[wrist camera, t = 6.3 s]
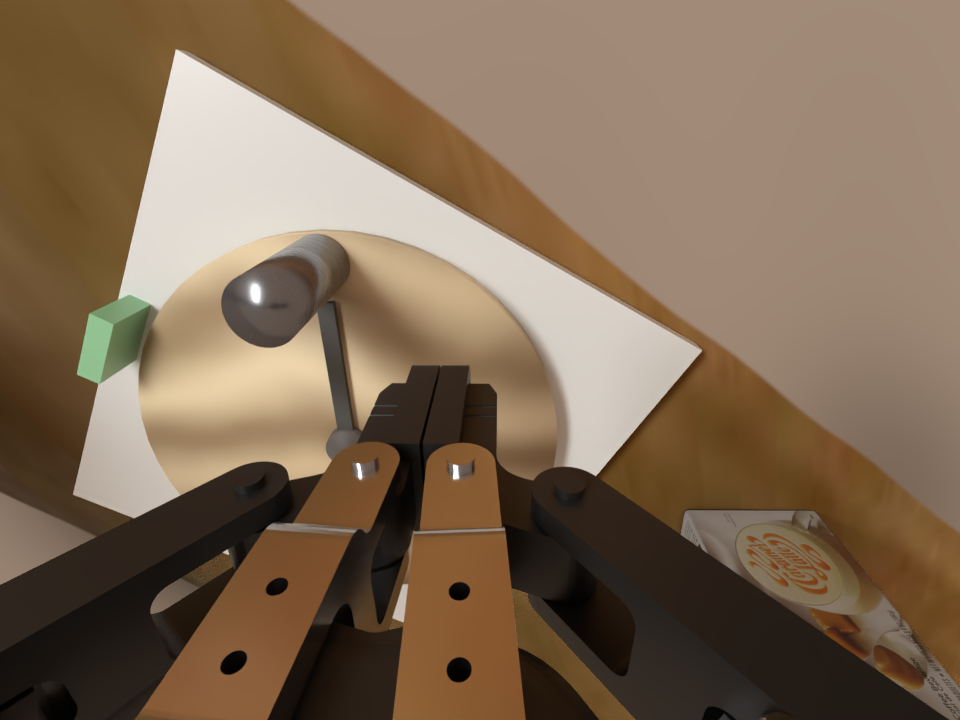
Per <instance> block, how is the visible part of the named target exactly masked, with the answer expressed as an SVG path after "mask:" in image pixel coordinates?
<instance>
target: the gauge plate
mask: <svg viewBox="0 0 960 720" xmlns="http://www.w3.org/2000/svg"><path fill="white" fill-rule="evenodd" d="M320 229H325V230H343V231H356V232H361V233H367V234H372V235H377V236H383V237H387V238H390V239H393V240H396V241H399V242H403V243H406V244H409V245H412V246H415V247H418V248H420V249H422V250H424V251H426V252H428V253H430V254H432V255H435V256H437V257H439V258H441V259H443V260H445V261H447V262H448V263H450V264H452V265H453V266H455V267H456V268H458V269H460V270H461V271H463V272H464V273H466V274H467V275H469V276H471V277H472V278H473V279H475V280H476V281H477V282H478V283H479V284H481V285H482V286H483V287H484V288H485V289H487V290H488V291H489V292H490V293H491V294H493V295H494V296H495V297H496V298H497V299H498V300H499V301H500V302H501V303H502V304H503V306H504V307H505V308H506V309H507V310H508V311H509V312H510V313H511V314H512V315H513V316H514V317H515V319H516V320H517V321H518V323H519V324H520V326H521V327H522V329H523V330H524V331H525V333H526V334H527V336H528V337H529V339H530V340H531V342H532V344H533V346H534V348H535V350H536V351H537V353H538V355H539V357H540V359H541V361H542V363H543V366H544V369H545V372H546V375H547V378H548V381H549V384H550V387H551V391H552V396H553V402H554V407H555V413H556V419H557V448H556V455H555V462H554V467H574V468H579V469H582V470H585V471H587V472H590V473H591V474H593V475H595V476H596V475H597V474H598V473H599V472H600V471H601V470H602V468H603V467H604V466H605V465H606V464H607V462H608V461H609V460H610V459H611V458H612V457H613V455H614V454H615V453H616V452H617V451H618V449H619V448H620V447H621V446H622V445H623V444H624V442H625V441H626V440H627V439H628V438H629V436H630V435H631V434H632V433H633V432H634V431H635V429H636V428H637V427H638V426H639V425H640V423H641V422H642V421H643V420H644V419H645V418H646V416H647V415H648V414H649V413H650V412H651V410H652V409H653V408H654V407H655V406H656V405H657V403H658V402H659V401H660V400H661V399H662V397H663V396H664V395H665V394H666V393H667V392H668V390H669V389H670V388H671V387H672V386H673V384H674V383H675V382H676V381H677V380H678V379H679V377H680V376H681V375H682V374H683V373H684V372H685V370H686V369H687V368H688V367H689V366H690V364H691V363H692V362H693V361H694V360H695V359H696V357H697V356H698V355H699V354H700V353H701V351H702V350H701V349H700V348H699V346H698V345H697V344H696V343H694V342H693V341H691V340H689V339H687V338H686V337H684V336H682V335H680V334H679V333H677V332H675V331H674V330H672V329H670V328H668V327H667V326H665V325H663V324H661V323H660V322H658V321H656V320H654V319H653V318H651V317H649V316H647V315H646V314H644V313H642V312H640V311H639V310H637V309H635V308H633V307H632V306H630V305H628V304H627V303H625V302H623V301H621V300H620V299H618V298H616V297H614V296H613V295H611V294H609V293H607V292H606V291H604V290H602V289H600V288H599V287H597V286H595V285H593V284H592V283H590V282H588V281H586V280H585V279H583V278H581V277H580V276H578V275H576V274H574V273H573V272H571V271H569V270H567V269H566V268H564V267H562V266H560V265H559V264H557V263H555V262H553V261H552V260H550V259H548V258H546V257H545V256H543V255H541V254H540V253H538V252H536V251H534V250H533V249H531V248H529V247H527V246H526V245H524V244H522V243H520V242H519V241H517V240H515V239H513V238H512V237H510V236H508V235H506V234H505V233H503V232H501V231H499V230H498V229H496V228H494V227H493V226H491V225H489V224H487V223H486V222H484V221H482V220H480V219H479V218H477V217H475V216H473V215H472V214H470V213H468V212H466V211H465V210H463V209H461V208H459V207H458V206H456V205H454V204H452V203H451V202H449V201H447V200H446V199H444V198H442V197H440V196H439V195H437V194H435V193H433V192H432V191H430V190H428V189H426V188H425V187H423V186H421V185H419V184H418V183H416V182H414V181H412V180H411V179H409V178H407V177H405V176H404V175H402V174H400V173H399V172H397V171H395V170H393V169H392V168H390V167H388V166H386V165H385V164H383V163H381V162H379V161H378V160H376V159H374V158H372V157H371V156H369V155H367V154H365V153H364V152H362V151H360V150H359V149H357V148H355V147H353V146H352V145H350V144H348V143H346V142H345V141H343V140H341V139H339V138H338V137H336V136H334V135H332V134H331V133H329V132H327V131H325V130H324V129H322V128H320V127H318V126H317V125H315V124H313V123H312V122H310V121H308V120H306V119H305V118H303V117H301V116H299V115H298V114H296V113H294V112H292V111H291V110H289V109H287V108H285V107H284V106H282V105H280V104H278V103H277V102H275V101H273V100H271V99H270V98H268V97H266V96H265V95H263V94H261V93H259V92H258V91H256V90H254V89H252V88H251V87H249V86H247V85H245V84H244V83H242V82H240V81H238V80H237V79H235V78H233V77H231V76H230V75H228V74H226V73H224V72H223V71H221V70H219V69H218V68H216V67H214V66H212V65H211V64H209V63H207V62H205V61H204V60H202V59H200V58H198V57H197V56H195V55H193V54H191V53H190V52H187V51H182V50H177V49H176V52H175V57H174V61H173V65H172V70H171V74H170V78H169V83H168V87H167V91H166V96H165V100H164V104H163V109H162V113H161V117H160V121H159V126H158V130H157V134H156V139H155V143H154V147H153V152H152V156H151V160H150V165H149V169H148V173H147V178H146V182H145V186H144V191H143V195H142V199H141V203H140V208H139V212H138V216H137V221H136V225H135V229H134V234H133V238H132V242H131V247H130V251H129V255H128V260H127V264H126V268H125V273H124V277H123V281H122V285H121V290H120V294H119V298H118V300H117V301H115V302H112V303H110V304H108V305H106V306H104V307H102V308H100V309H98V310H96V311H94V312H92V313H89V318H88V323H87V328H86V332H85V337H84V342H83V347H82V352H81V357H80V362H79V366H78V371H77V375H79V376H82V377H84V378H86V379H89V380H91V381H93V382H96V383H98V384H99V385H98V389H97V393H96V398H95V402H94V406H93V411H92V415H91V419H90V424H89V428H88V432H87V436H86V441H85V445H84V449H83V454H82V458H81V462H80V467H79V471H78V475H77V480H76V484H75V488H74V493H73V495H75V496H78V497H81V498H83V499H86V500H88V501H91V502H93V503H96V504H99V505H101V506H104V507H106V508H109V509H112V510H114V511H117V512H119V513H122V514H124V515H127V516H130V517H132V518H136V517H138V516H140V515H142V514H144V513H146V512H148V511H150V510H152V509H154V508H156V507H158V506H160V505H162V504H164V503H166V502H168V501H170V500H172V499H174V498H176V497H178V496H180V494H179V492H178V491H177V490H176V489H175V487H174V486H173V485H172V484H171V482H170V481H169V479H168V477H167V476H166V474H165V472H164V471H163V469H162V468H161V466H160V464H159V463H158V461H157V458H156V456H155V454H154V452H153V450H152V448H151V445H150V443H149V441H148V438H147V434H146V431H145V428H144V424H143V421H142V417H141V410H140V403H139V397H138V377H139V367H140V361H141V355H142V350H143V346H144V344H145V341H146V338H147V336H148V333H149V330H150V327H151V325H152V323H153V322H154V320H155V318H156V317H157V315H158V313H159V311H160V310H161V308H162V306H163V305H164V303H165V302H166V301H167V300H168V299H169V298H170V296H171V295H172V294H173V293H174V292H175V290H176V289H177V288H178V287H179V286H180V285H181V284H182V283H183V282H184V281H186V280H187V279H188V278H189V277H190V276H192V275H193V274H194V273H195V272H196V271H198V270H199V269H200V268H201V267H203V266H205V265H206V264H208V263H210V262H212V261H213V260H215V259H217V258H219V257H220V256H222V255H224V254H225V253H227V252H229V251H232V250H234V249H236V248H238V247H241V246H243V245H246V244H249V243H251V242H254V241H256V240H259V239H262V238H266V237H270V236H275V235H279V234H284V233H288V232H295V231H308V230H320ZM554 467H553V468H554ZM223 553H225V554H228V555H229V552H228V549H227V550H226V551H224V552H223ZM407 589H408V584H403V585H402V588H401V592H400V595H399V598H398V601H397V605H396V608H395V611H394V615H393V619H396V620H398V621H401V622H404V615H405V607H406V598H407Z"/></svg>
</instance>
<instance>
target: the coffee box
mask: <svg viewBox="0 0 960 720" xmlns="http://www.w3.org/2000/svg"><path fill="white" fill-rule="evenodd" d="M681 535H682V536H683V537H685V538H686V539H688V540H689V541H691V542H692V543H693V544H695V545H696V546H698V547H699V548H701V549H702V550H704V551H705V552H707V553H708V554H709V555H711V556H712V557H714V558H715V559H717V560H718V561H720V562H721V563H722V564H724V565H725V566H727V567H728V568H730V569H731V570H733V571H734V572H736V573H737V574H738V575H740V576H741V577H743V578H744V579H746V580H747V581H749V582H750V583H752V584H753V585H754V586H756V587H757V588H759V589H760V590H762V591H763V592H765V593H766V594H768V595H769V596H770V597H772V598H773V599H775V600H776V601H778V602H779V603H781V604H782V605H783V606H785V607H786V608H788V609H789V610H791V611H792V612H794V613H795V614H797V615H798V616H799V617H801V618H802V619H804V620H805V621H807V622H808V623H810V624H811V625H813V626H814V627H815V628H817V629H818V630H820V631H821V632H823V633H824V634H826V635H827V636H829V637H830V638H831V639H833V640H834V641H836V642H837V643H839V644H840V645H842V646H843V647H844V648H846V649H847V650H849V651H850V652H852V653H853V654H855V655H856V656H858V657H859V658H860V659H862V660H863V661H865V662H866V663H868V664H869V665H871V666H872V667H874V668H875V669H876V670H878V671H879V672H881V673H882V674H884V675H885V676H887V677H888V678H890V679H891V680H892V681H894V682H895V683H897V684H898V685H900V686H901V687H903V688H904V689H905V690H907V691H908V692H910V693H911V694H913V695H914V696H916V697H917V698H919V699H920V700H921V701H923V702H924V703H926V704H927V705H929V706H930V707H932V708H933V709H935V710H936V711H937V712H939V713H940V714H942V715H943V716H945V717H946V718H948V719H949V720H960V687H959V686H958V685H957V683H956V682H955V681H954V680H953V678H952V677H951V676H950V675H949V674H948V672H947V671H946V670H945V669H944V668H943V666H942V665H941V664H940V663H939V662H938V660H937V659H936V658H935V657H934V655H933V654H932V653H931V652H930V650H929V649H928V648H927V647H926V645H925V644H924V643H923V642H922V641H921V639H920V638H919V637H918V636H917V635H916V633H915V632H914V631H913V630H912V628H911V627H910V626H909V625H908V624H907V622H906V621H905V620H904V618H903V617H902V616H901V615H900V614H899V613H898V612H897V610H896V609H895V608H894V607H893V605H892V604H891V603H890V602H889V601H888V599H887V598H886V597H885V595H884V594H883V593H882V592H881V591H880V590H879V588H878V587H877V586H876V585H875V583H874V582H873V581H872V580H871V579H870V578H869V576H868V575H867V574H866V572H865V571H864V570H863V569H862V568H861V566H860V565H859V564H858V563H857V561H856V560H855V559H854V558H853V557H852V555H851V554H850V553H849V552H848V551H847V549H846V548H845V547H844V546H843V545H842V543H841V542H840V541H839V540H838V539H837V537H836V536H835V535H834V534H833V532H832V531H831V530H830V529H829V527H828V526H827V525H826V524H825V523H824V521H823V520H822V519H821V518H820V517H819V515H818V514H817V513H816V512H815V511H765V510H761V511H753V510H688V511H686V512H685V514H684V519H683V524H682V530H681Z"/></svg>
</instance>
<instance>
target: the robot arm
mask: <svg viewBox="0 0 960 720" xmlns="http://www.w3.org/2000/svg"><path fill="white" fill-rule="evenodd" d="M374 405H375V406H374V407H373V409H372V411H371V413H370V416H369V418H368V420H367V422H366V424H365V427H364V429H363V431H362V433H361V435H360V438H359V440H358V442H357V444H355V445H352V446H350V447H347V448H345V449H344V450H342V451H341V452H339V453H338V454H337V455H336V456H335V457H334V458H333V460H332V461H331V463H330V464H329V466H328V468H327V469H326V471H325V472H324V473H322V474H318V475H313V476H308V477H303V478H298V479H293V480H289V475H288V472H287V470H286V468H285V467H284V466H282V465H281V464H278V463H275V462H269V461H261V462H253V463H249V464H245V465H242V466H239V467H237V468H235V469H232V470H230V471H228V472H226V473H224V474H222V475H220V476H218V477H216V478H214V479H212V480H210V481H208V482H206V483H204V484H202V485H200V486H198V487H196V488H194V489H192V490H190V491H188V492H186V493H184V494H182V495H180V496H178V497H176V498H174V499H172V500H170V501H168V502H166V503H164V504H162V505H160V506H158V507H156V508H154V509H152V510H150V511H148V512H146V513H144V514H142V515H140V516H138V517H136V518H134V519H132V520H130V521H128V522H126V523H124V524H122V525H120V526H118V527H116V528H114V529H112V530H110V531H108V532H106V533H104V534H102V535H100V536H98V537H96V538H94V539H92V540H90V541H88V542H86V543H84V544H82V545H80V546H78V547H76V548H74V549H72V550H70V551H68V552H66V553H64V554H62V555H60V556H58V557H56V558H54V559H52V560H50V561H48V562H46V563H44V564H42V565H40V566H38V567H36V568H34V569H32V570H29V571H27V572H26V573H23V574H21V575H20V576H17V577H15V578H13V579H11V580H10V581H7V582H6V583H3V584H1V585H0V720H599V719H598V718H597V717H596V715H595V714H594V713H593V712H592V710H591V709H590V708H589V707H588V705H587V704H586V703H585V702H584V701H583V699H582V698H581V697H580V696H579V694H578V693H577V692H576V691H575V690H574V688H573V687H572V686H571V685H570V684H569V683H568V682H567V681H566V680H565V679H564V678H563V677H562V676H561V675H560V674H559V673H558V672H557V671H556V670H554V669H553V668H552V667H550V666H549V665H548V664H546V663H545V662H544V661H542V660H541V659H539V658H537V657H536V656H534V655H532V654H531V653H529V652H527V651H525V650H523V649H520V648H518V644H517V635H516V626H515V616H514V607H513V598H512V588H514V589H517V590H520V591H523V592H526V593H528V599H529V602H530V604H531V605H532V607H533V608H534V610H535V611H536V612H537V613H538V614H539V615H540V616H541V617H542V619H543V620H544V621H545V622H546V623H547V624H548V625H549V626H550V627H551V628H552V629H553V630H554V631H555V633H556V634H557V635H558V636H559V637H560V638H561V639H562V640H563V641H564V642H565V643H566V644H567V646H568V647H569V648H570V649H571V650H572V651H573V652H574V653H575V654H576V655H577V656H578V657H579V659H580V660H581V661H582V662H583V663H584V664H585V665H586V666H587V667H588V668H589V669H590V670H591V672H592V673H593V674H594V675H595V676H596V677H597V678H598V679H599V680H600V681H601V682H602V683H603V685H604V686H605V687H606V688H607V689H608V690H609V691H610V692H611V693H612V694H613V695H614V696H615V697H616V699H617V700H618V701H619V702H620V703H621V704H622V705H623V706H624V707H625V708H626V709H627V710H628V712H629V713H630V714H631V715H632V716H633V717H634V718H635V719H636V720H949V719H948V718H946V717H945V716H943V715H942V714H940V713H939V712H937V711H936V710H935V709H933V708H932V707H930V706H929V705H927V704H926V703H924V702H923V701H921V700H920V699H919V698H917V697H916V696H914V695H913V694H911V693H910V692H908V691H907V690H905V689H904V688H903V687H901V686H900V685H898V684H897V683H895V682H894V681H892V680H891V679H890V678H888V677H887V676H885V675H884V674H882V673H881V672H879V671H878V670H876V669H875V668H874V667H872V666H871V665H869V664H868V663H866V662H865V661H863V660H862V659H860V658H859V657H858V656H856V655H855V654H853V653H852V652H850V651H849V650H847V649H846V648H844V647H843V646H842V645H840V644H839V643H837V642H836V641H834V640H833V639H831V638H830V637H829V636H827V635H826V634H824V633H823V632H821V631H820V630H818V629H817V628H815V627H814V626H813V625H811V624H810V623H808V622H807V621H805V620H804V619H802V618H801V617H799V616H798V615H797V614H795V613H794V612H792V611H791V610H789V609H788V608H786V607H785V606H783V605H782V604H781V603H779V602H778V601H776V600H775V599H773V598H772V597H770V596H769V595H768V594H766V593H765V592H763V591H762V590H760V589H759V588H757V587H756V586H754V585H753V584H752V583H750V582H749V581H747V580H746V579H744V578H743V577H741V576H740V575H738V574H737V573H736V572H734V571H733V570H731V569H730V568H728V567H727V566H725V565H724V564H722V563H721V562H720V561H718V560H717V559H715V558H714V557H712V556H711V555H709V554H708V553H707V552H705V551H704V550H702V549H701V548H699V547H698V546H696V545H695V544H693V543H692V542H691V541H689V540H688V539H686V538H685V537H683V536H682V535H680V534H679V533H677V532H676V531H675V530H673V529H672V528H670V527H669V526H667V525H666V524H664V523H663V522H662V521H660V520H659V519H657V518H656V517H654V516H653V515H651V514H650V513H648V512H647V511H646V510H644V509H643V508H641V507H640V506H638V505H637V504H635V503H634V502H632V501H631V500H630V499H628V498H627V497H625V496H624V495H622V494H621V493H619V492H618V491H616V490H615V489H614V488H612V487H611V486H609V485H608V484H606V483H605V482H603V481H602V480H601V479H599V478H598V477H596V476H595V475H593V474H591V473H590V472H587V471H585V470H582V469H579V468H574V467H554V468H550V469H547V470H545V471H543V472H541V473H540V474H538V475H537V476H536V478H535V479H534V480H529V479H525V478H522V477H518V476H516V475H514V474H512V473H510V472H508V471H507V470H506V469H504V468H503V467H502V466H501V465H500V463H499V462H498V460H497V393H496V392H495V390H494V389H493V388H492V387H491V385H490V384H473V383H471V374H470V365H442V367H441V366H440V365H412V367H411V370H410V372H409V375H408V378H407V380H406V383H391V384H390V385H389V386H388V387H386V388H385V389H384V390H383V391H381V392H380V393H379V395H378V398H377V400H376V402H375V404H374ZM413 531H415V533H414V538H413V546H412V554H411V563H410V572H409V581H408V589H407V598H406V607H405V615H404V624H403V627H401V628H396V629H392V630H389V628H390V624H391V621H392V618H393V615H394V611H395V608H396V605H397V601H398V598H399V595H400V592H401V588H402V585H403V582H404V578H405V575H406V572H407V568H408V565H409V561H410V551H409V546H410V543H411V539H412V534H413ZM227 549H228V552H229V555H230V558H231V561H232V564H233V567H232V568H230V569H229V570H227V571H226V572H224V573H222V574H221V575H219V576H218V577H216V578H214V579H213V580H211V581H210V582H208V583H207V584H205V585H203V586H202V587H200V588H199V589H197V590H196V591H194V592H193V593H191V594H189V595H188V596H186V597H185V598H183V599H181V600H180V601H178V602H177V603H175V604H173V605H172V606H170V607H169V608H167V609H165V610H164V611H162V612H159V613H155V614H150V608H151V605H152V602H153V600H154V599H155V597H156V596H157V594H159V592H160V591H161V590H163V589H164V588H165V587H167V586H168V585H170V584H171V583H173V582H175V581H176V580H178V579H179V578H181V577H183V576H184V575H186V574H188V573H189V572H191V571H193V570H194V569H196V568H198V567H199V566H201V565H203V564H204V563H206V562H208V561H209V560H211V559H213V558H214V557H216V556H218V555H219V554H221V553H222V552H224V551H226V550H227Z"/></svg>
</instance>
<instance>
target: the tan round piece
mask: <svg viewBox="0 0 960 720" xmlns="http://www.w3.org/2000/svg"><path fill="white" fill-rule="evenodd" d="M412 365H440V366H441V367H442V365H470V374H471V383H473V384H490V385H491V387H492V388H493V389H494V390H495V392H496V393H497V460H498V462H499V463H500V465H501V466H502V467H503V468H504V469H506V470H507V471H508V472H510V473H512V474H514V475H516V476H518V477H522V478H525V479H529V480H534V479H535V478H536V476H537V475H538V474H540V473H541V472H543V471H545V470H547V469H550V468H553V467H554V462H555V455H556V448H557V419H556V413H555V407H554V402H553V396H552V391H551V387H550V384H549V381H548V378H547V375H546V372H545V369H544V366H543V363H542V361H541V359H540V357H539V355H538V353H537V351H536V350H535V348H534V346H533V344H532V342H531V340H530V339H529V337H528V336H527V334H526V333H525V331H524V330H523V329H522V327H521V326H520V324H519V323H518V321H517V320H516V319H515V317H514V316H513V315H512V314H511V313H510V312H509V311H508V310H507V309H506V308H505V307H504V306H503V304H502V303H501V302H500V301H499V300H498V299H497V298H496V297H495V296H494V295H493V294H491V293H490V292H489V291H488V290H487V289H485V288H484V287H483V286H482V285H481V284H479V283H478V282H477V281H476V280H475V279H473V278H472V277H471V276H469V275H467V274H466V273H464V272H463V271H461V270H460V269H458V268H456V267H455V266H453V265H452V264H450V263H448V262H447V261H445V260H443V259H441V258H439V257H437V256H435V255H432V254H430V253H428V252H426V251H424V250H422V249H420V248H418V247H415V246H412V245H409V244H406V243H403V242H399V241H396V240H393V239H390V238H387V237H383V236H377V235H372V234H367V233H361V232H356V231H343V230H325V229H320V230H308V231H295V232H288V233H284V234H279V235H275V236H270V237H266V238H262V239H259V240H256V241H254V242H251V243H249V244H246V245H243V246H241V247H238V248H236V249H234V250H232V251H229V252H227V253H225V254H224V255H222V256H220V257H219V258H217V259H215V260H213V261H212V262H210V263H208V264H206V265H205V266H203V267H201V268H200V269H199V270H198V271H196V272H195V273H194V274H193V275H192V276H190V277H189V278H188V279H187V280H186V281H184V282H183V283H182V284H181V285H180V286H179V287H178V288H177V289H176V290H175V292H174V293H173V294H172V295H171V296H170V298H169V299H168V300H167V301H166V302H165V303H164V305H163V306H162V308H161V310H160V311H159V313H158V315H157V317H156V318H155V320H154V322H153V323H152V325H151V327H150V330H149V333H148V336H147V338H146V341H145V344H144V346H143V350H142V355H141V361H140V367H139V377H138V397H139V403H140V410H141V417H142V421H143V424H144V428H145V431H146V434H147V438H148V441H149V443H150V445H151V448H152V450H153V452H154V454H155V456H156V458H157V461H158V463H159V464H160V466H161V468H162V469H163V471H164V472H165V474H166V476H167V477H168V479H169V481H170V482H171V484H172V485H173V486H174V487H175V489H176V490H177V491H178V492H179V494H180V495H182V494H184V493H186V492H188V491H190V490H192V489H194V488H196V487H198V486H200V485H202V484H204V483H206V482H208V481H210V480H212V479H214V478H216V477H218V476H220V475H222V474H224V473H226V472H228V471H230V470H232V469H235V468H237V467H239V466H242V465H245V464H249V463H253V462H261V461H269V462H275V463H278V464H281V465H282V466H284V467H285V468H286V470H287V472H288V475H289V480H293V479H298V478H303V477H308V476H313V475H318V474H322V473H324V472H325V471H326V469H327V468H328V466H329V464H330V463H331V461H332V460H333V458H334V457H335V456H336V455H337V454H338V453H339V452H341V451H342V450H344V449H345V448H347V447H350V446H352V445H355V444H357V442H358V440H359V438H360V435H361V433H362V431H363V429H364V427H365V424H366V422H367V420H368V418H369V416H370V413H371V411H372V409H373V407H374V406H375V405H374V404H375V402H376V400H377V398H378V395H379V393H380V392H381V391H383V390H384V389H385V388H386V387H388V386H389V385H390V384H391V383H406V380H407V378H408V375H409V372H410V370H411V367H412ZM414 533H415V531H413V534H412V539H411V543H410V546H409V551H410V561H409V565H408V568H407V572H406V575H405V578H404V582H403V584H408V581H409V572H410V563H411V554H412V546H413V538H414Z"/></svg>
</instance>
